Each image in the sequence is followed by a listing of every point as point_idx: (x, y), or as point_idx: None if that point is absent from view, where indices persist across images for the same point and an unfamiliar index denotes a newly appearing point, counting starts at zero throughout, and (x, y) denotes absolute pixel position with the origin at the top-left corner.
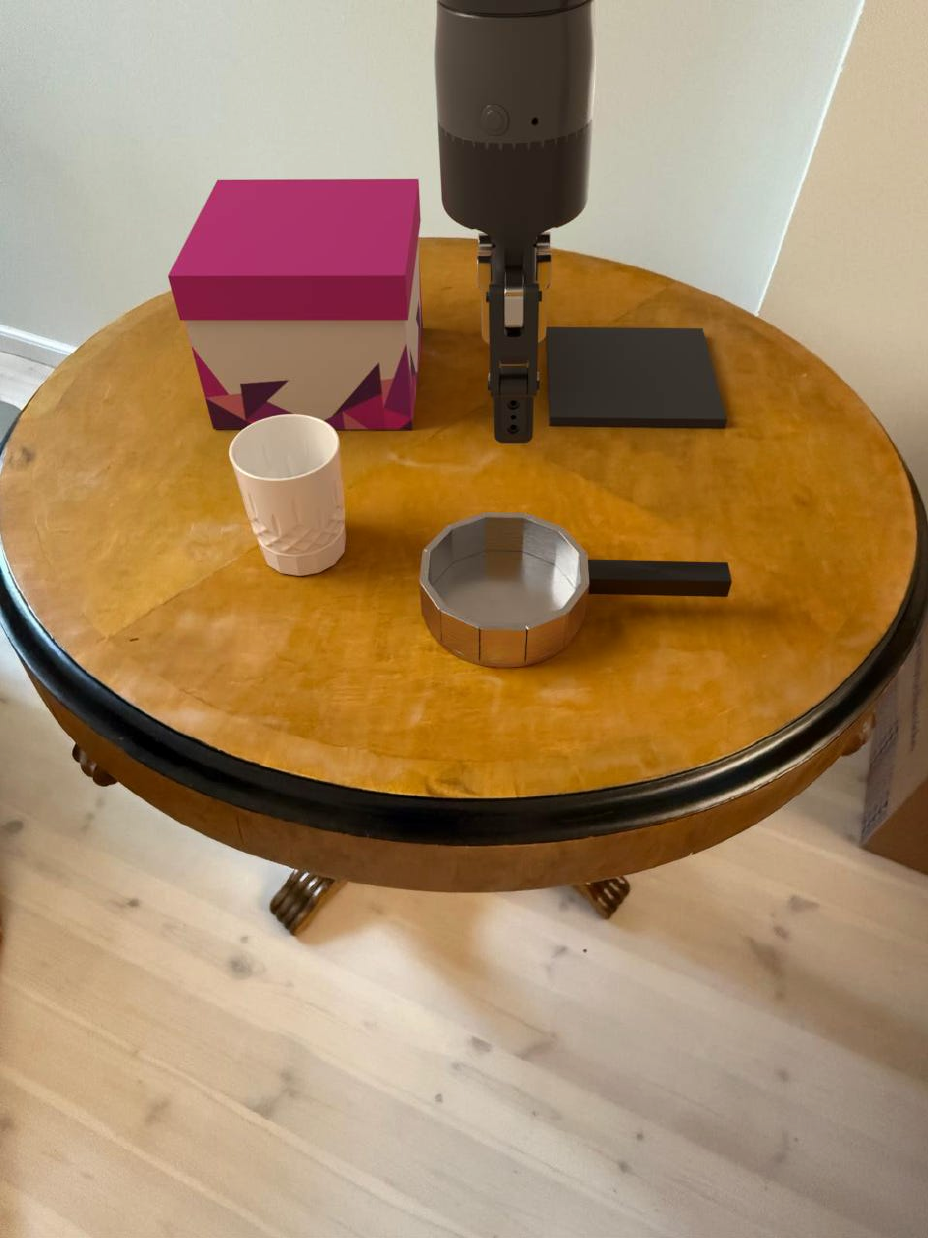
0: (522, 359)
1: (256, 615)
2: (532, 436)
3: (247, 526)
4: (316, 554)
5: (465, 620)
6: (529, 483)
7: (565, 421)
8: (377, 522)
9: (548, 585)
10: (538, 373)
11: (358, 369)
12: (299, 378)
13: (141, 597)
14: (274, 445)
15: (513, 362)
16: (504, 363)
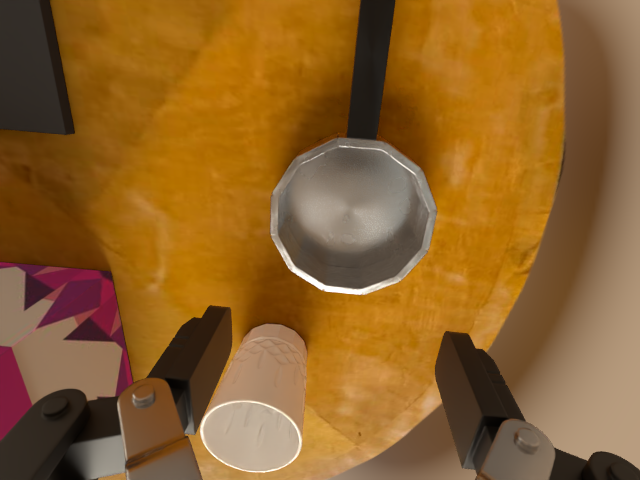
0: (229, 319)
1: (344, 375)
2: (469, 336)
3: None
4: (302, 353)
5: (416, 261)
6: (177, 166)
7: (67, 115)
8: (243, 300)
9: (333, 165)
10: (536, 447)
11: (73, 351)
12: (93, 390)
13: (322, 434)
14: (221, 423)
15: (231, 328)
16: (231, 339)
